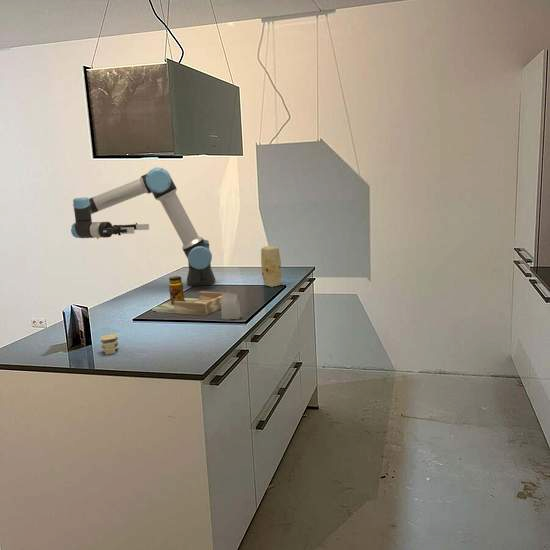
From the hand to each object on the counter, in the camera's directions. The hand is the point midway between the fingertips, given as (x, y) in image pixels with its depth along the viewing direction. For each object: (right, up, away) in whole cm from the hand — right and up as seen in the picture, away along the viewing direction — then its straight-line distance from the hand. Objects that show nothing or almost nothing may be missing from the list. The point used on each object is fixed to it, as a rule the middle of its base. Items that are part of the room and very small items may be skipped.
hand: (141, 228), depth 278 cm
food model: (+61, -27, +18) cm, 69 cm away
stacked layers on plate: (+6, -49, -72) cm, 87 cm away
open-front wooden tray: (+26, -36, -16) cm, 47 cm away
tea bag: (+45, -39, -38) cm, 71 cm away
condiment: (+19, -35, -13) cm, 41 cm away
